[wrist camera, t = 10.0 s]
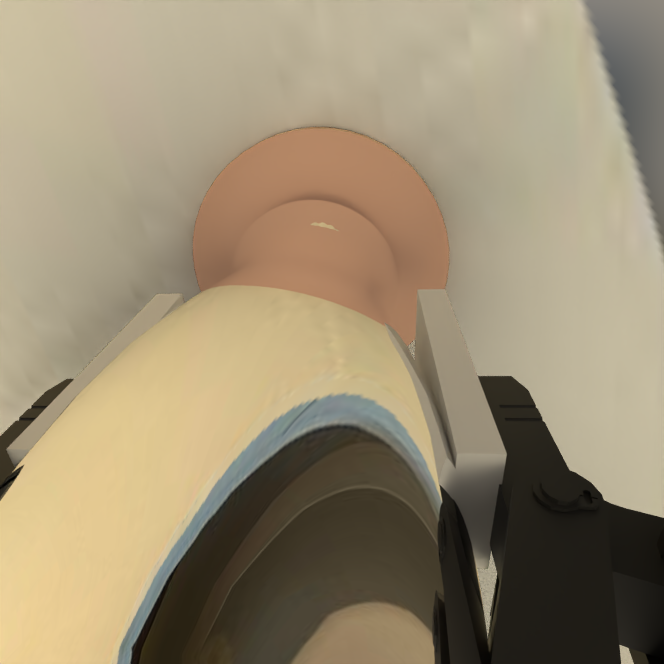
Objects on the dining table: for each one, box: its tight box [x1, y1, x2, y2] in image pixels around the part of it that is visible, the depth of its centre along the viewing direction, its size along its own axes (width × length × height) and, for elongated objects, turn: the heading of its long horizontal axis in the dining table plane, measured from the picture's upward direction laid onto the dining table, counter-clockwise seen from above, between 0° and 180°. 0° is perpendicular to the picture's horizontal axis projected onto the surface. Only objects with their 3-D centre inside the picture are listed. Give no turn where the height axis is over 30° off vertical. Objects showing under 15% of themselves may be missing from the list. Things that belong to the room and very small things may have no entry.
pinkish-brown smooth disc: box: [193, 127, 449, 346], centre depth 19 cm, size 10×10×1 cm
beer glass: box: [0, 200, 490, 664], centre depth 11 cm, size 7×7×15 cm
